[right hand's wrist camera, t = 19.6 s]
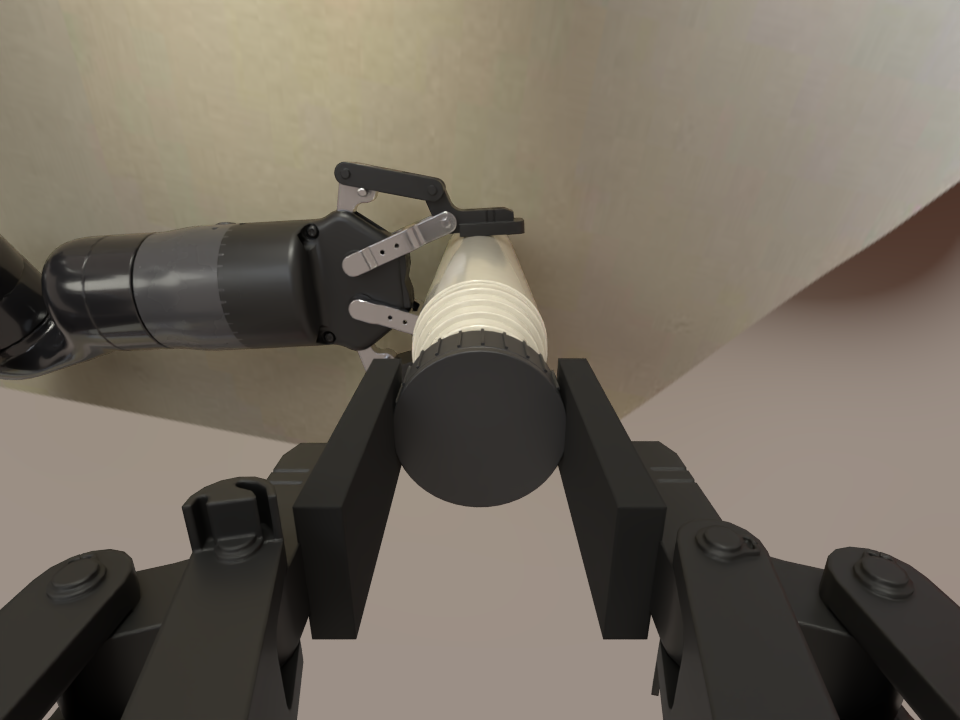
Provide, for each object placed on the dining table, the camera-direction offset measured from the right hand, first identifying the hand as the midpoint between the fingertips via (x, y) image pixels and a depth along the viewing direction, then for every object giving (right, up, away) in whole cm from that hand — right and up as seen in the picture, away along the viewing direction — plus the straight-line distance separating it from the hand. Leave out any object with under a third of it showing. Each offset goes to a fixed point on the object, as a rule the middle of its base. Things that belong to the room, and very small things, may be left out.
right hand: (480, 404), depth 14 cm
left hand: (+3, +7, +17) cm, 18 cm away
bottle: (0, +9, +23) cm, 25 cm away
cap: (0, 0, -1) cm, 1 cm away
